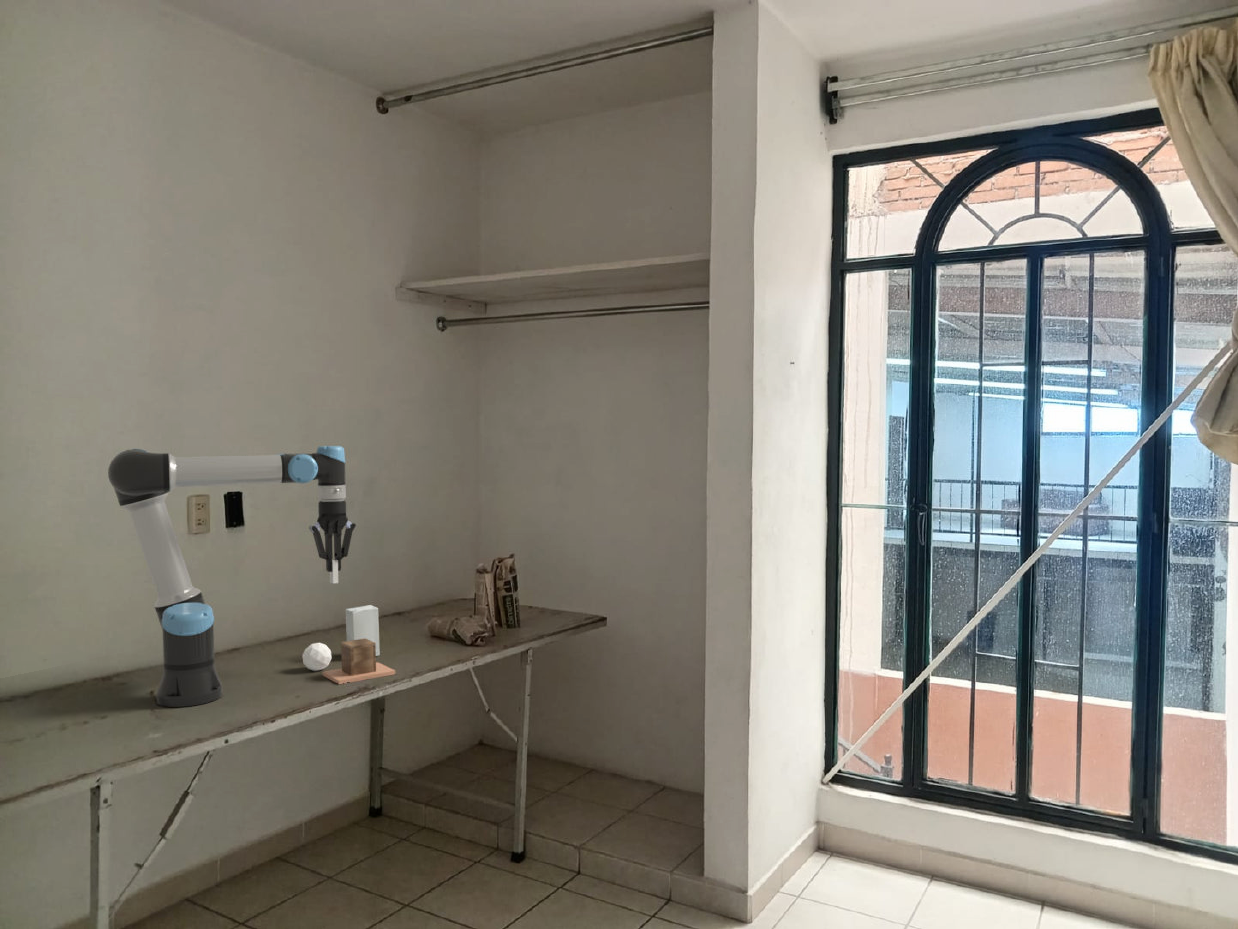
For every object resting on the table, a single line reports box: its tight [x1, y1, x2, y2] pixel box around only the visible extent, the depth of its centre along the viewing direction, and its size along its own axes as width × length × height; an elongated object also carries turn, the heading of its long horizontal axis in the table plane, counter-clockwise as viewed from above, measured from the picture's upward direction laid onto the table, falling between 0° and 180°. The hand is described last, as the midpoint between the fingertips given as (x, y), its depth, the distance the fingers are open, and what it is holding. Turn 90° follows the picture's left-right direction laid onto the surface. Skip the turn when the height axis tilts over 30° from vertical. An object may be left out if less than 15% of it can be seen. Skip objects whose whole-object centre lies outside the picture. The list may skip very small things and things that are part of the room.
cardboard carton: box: [340, 638, 377, 676], centre depth 250 cm, size 7×7×8 cm
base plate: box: [322, 661, 396, 685], centre depth 251 cm, size 16×12×1 cm
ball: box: [301, 642, 332, 672], centre depth 256 cm, size 8×8×8 cm
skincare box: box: [344, 604, 381, 657], centre depth 271 cm, size 8×6×15 cm
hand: (334, 582), depth 258 cm, fingers closed
